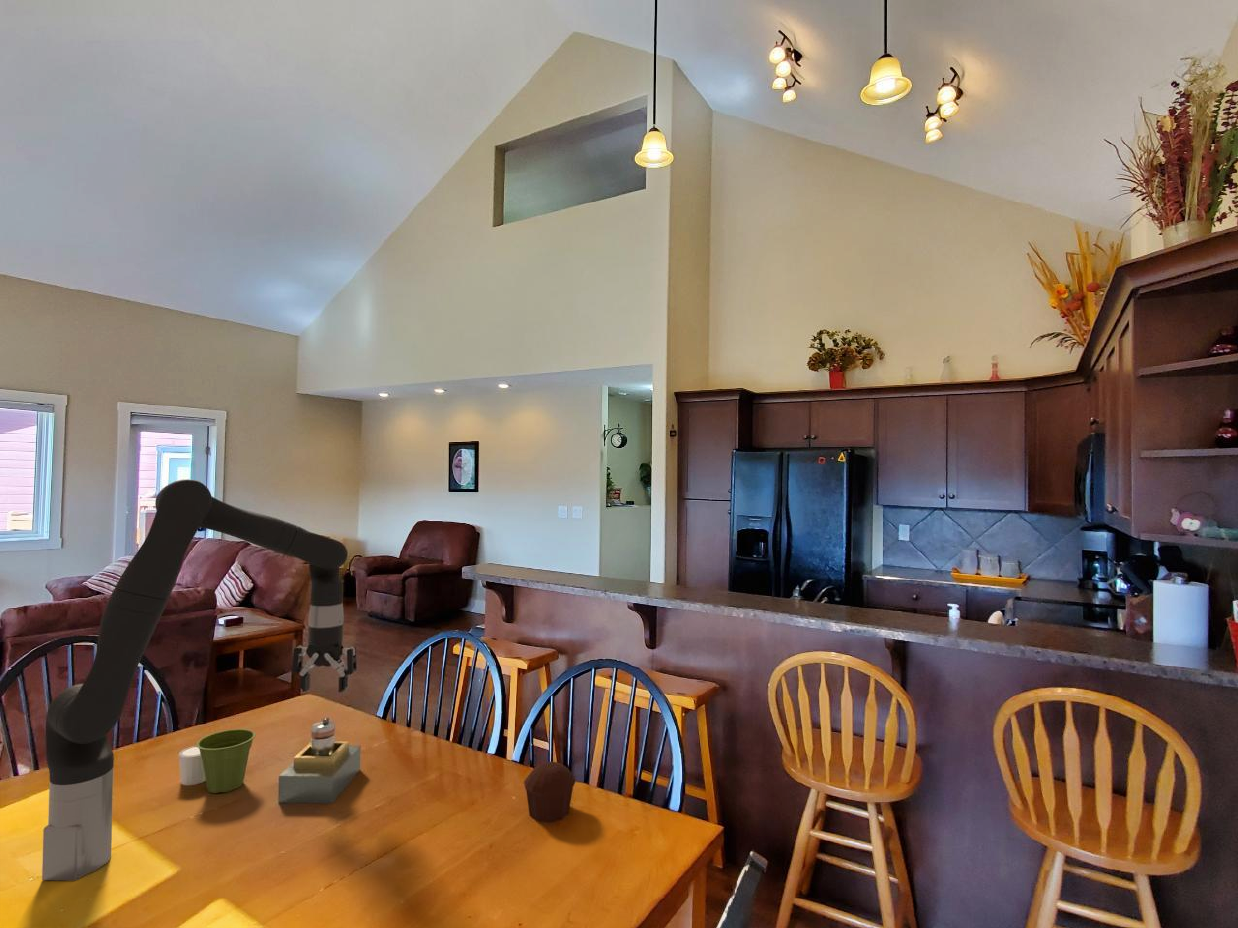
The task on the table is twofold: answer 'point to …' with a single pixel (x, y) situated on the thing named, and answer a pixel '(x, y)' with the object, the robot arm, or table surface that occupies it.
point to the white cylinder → (191, 766)
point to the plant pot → (225, 758)
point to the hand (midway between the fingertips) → (324, 690)
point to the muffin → (549, 791)
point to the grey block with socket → (319, 775)
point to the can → (323, 738)
